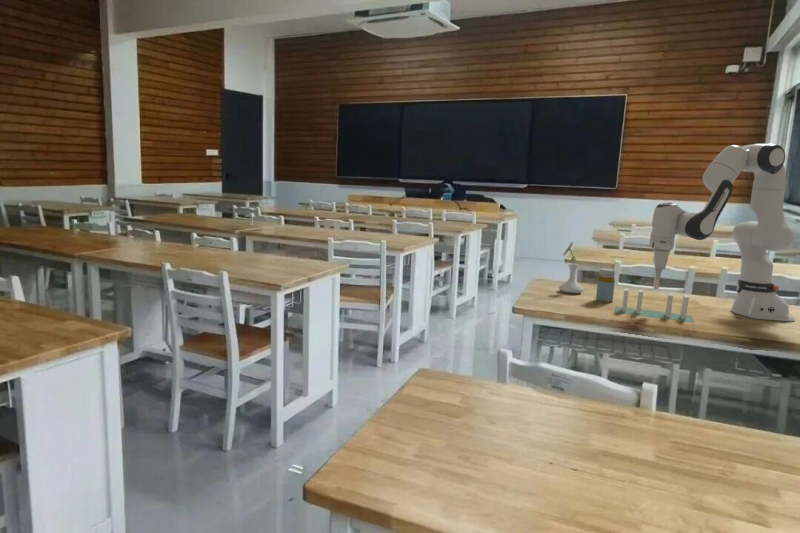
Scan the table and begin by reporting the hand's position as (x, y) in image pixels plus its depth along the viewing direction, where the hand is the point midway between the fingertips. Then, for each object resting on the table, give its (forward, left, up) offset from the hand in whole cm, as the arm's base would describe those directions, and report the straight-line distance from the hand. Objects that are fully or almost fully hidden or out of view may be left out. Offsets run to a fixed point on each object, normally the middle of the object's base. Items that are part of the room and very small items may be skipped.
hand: (657, 277), depth 215 cm
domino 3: (-6, 0, -16) cm, 17 cm away
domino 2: (0, 0, -5) cm, 5 cm away
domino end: (+11, 0, -16) cm, 19 cm away
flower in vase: (+35, -26, -16) cm, 47 cm away
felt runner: (0, 0, -16) cm, 16 cm away
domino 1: (+5, 0, -16) cm, 16 cm away
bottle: (+19, -14, -16) cm, 29 cm away
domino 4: (-11, 0, -16) cm, 19 cm away
